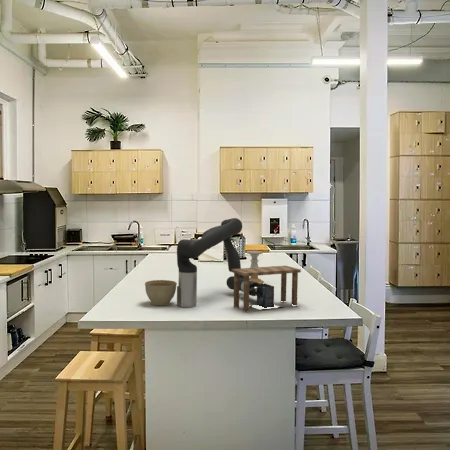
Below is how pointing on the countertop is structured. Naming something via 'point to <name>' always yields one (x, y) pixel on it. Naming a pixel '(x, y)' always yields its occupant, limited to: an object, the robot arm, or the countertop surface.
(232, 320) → the countertop surface
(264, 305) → the box
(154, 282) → the planter bowl
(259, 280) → the candle holder
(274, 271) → the low shelf
